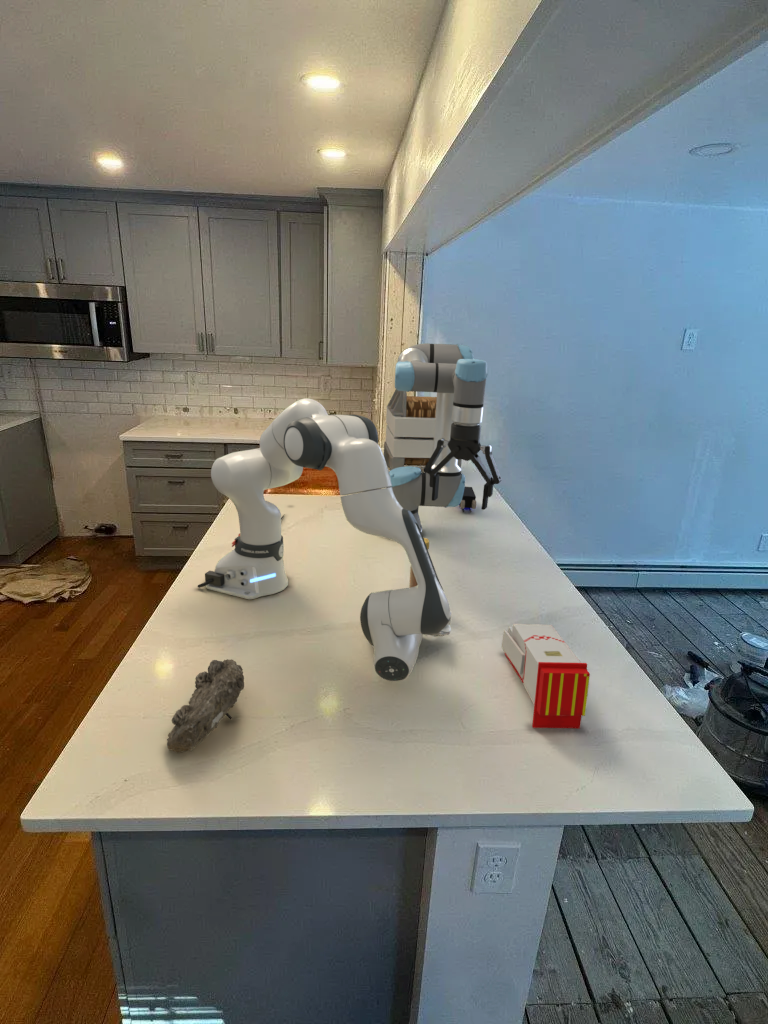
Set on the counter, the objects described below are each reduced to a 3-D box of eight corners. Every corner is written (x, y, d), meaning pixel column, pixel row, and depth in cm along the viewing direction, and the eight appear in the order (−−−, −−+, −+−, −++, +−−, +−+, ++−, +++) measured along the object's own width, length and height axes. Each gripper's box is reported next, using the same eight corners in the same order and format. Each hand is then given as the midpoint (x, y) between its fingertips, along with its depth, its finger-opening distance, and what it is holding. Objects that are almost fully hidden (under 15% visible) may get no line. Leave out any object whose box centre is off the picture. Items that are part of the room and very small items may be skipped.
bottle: (404, 603, 153) (408, 540, 147) (417, 598, 156) (421, 536, 150) (416, 610, 149) (420, 546, 143) (429, 605, 152) (434, 542, 146)
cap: (409, 547, 147) (409, 539, 147) (421, 543, 150) (421, 536, 149) (420, 552, 144) (420, 544, 144) (432, 549, 147) (432, 541, 146)
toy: (548, 608, 134) (599, 669, 104) (543, 661, 136) (591, 735, 107) (497, 607, 133) (533, 668, 104) (493, 660, 136) (527, 734, 107)
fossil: (192, 660, 117) (244, 628, 112) (224, 691, 120) (276, 661, 115) (142, 746, 98) (202, 712, 93) (182, 779, 101) (242, 748, 96)
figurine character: (476, 517, 222) (470, 501, 236) (478, 500, 219) (472, 484, 232) (459, 517, 222) (454, 501, 236) (461, 499, 219) (456, 484, 232)
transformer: (382, 463, 289) (386, 382, 275) (445, 464, 293) (451, 384, 279) (390, 482, 257) (394, 392, 243) (460, 483, 261) (468, 394, 247)
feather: (291, 508, 223) (294, 504, 222) (274, 533, 196) (277, 528, 195) (287, 506, 222) (290, 502, 222) (270, 530, 196) (272, 526, 195)
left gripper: (450, 624, 126) (455, 595, 139) (361, 611, 130) (374, 584, 142) (448, 648, 128) (453, 617, 141) (360, 635, 132) (373, 606, 145)
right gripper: (519, 426, 140) (509, 507, 147) (425, 415, 150) (420, 492, 157) (512, 431, 134) (502, 516, 141) (414, 419, 143) (409, 499, 150)
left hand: (412, 601), depth 142 cm, fingers open, 8 cm apart
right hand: (459, 503), depth 149 cm, fingers open, 13 cm apart
